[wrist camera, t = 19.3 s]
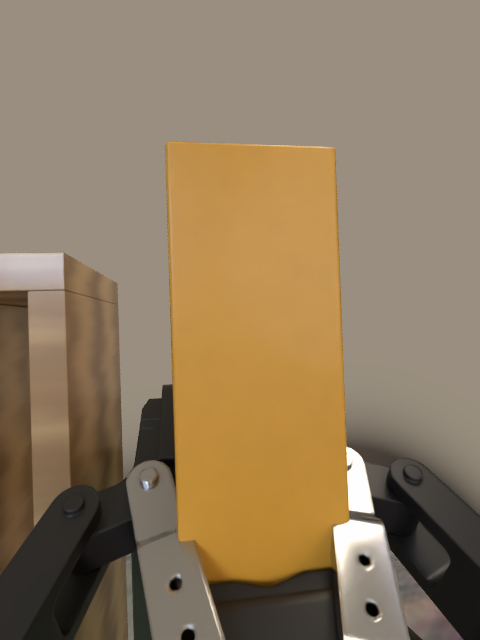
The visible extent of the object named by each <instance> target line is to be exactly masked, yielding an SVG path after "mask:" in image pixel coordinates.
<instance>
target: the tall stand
mask: <svg viewBox="0 0 480 640" xmlns="http://www.w3.org/2000/svg"><path fill="white" fill-rule="evenodd" d="M117 287H118V286H117V283H116V282H114V281H112V280H111V279H109V278H107V277H105V276H104V275H102V274H100V273H98V272H97V271H95V270H93V269H91V268H89V267H88V266H86V265H84V264H83V263H81V262H79V261H77V260H76V259H74V258H72V257H71V256H69V255H67V254H65V253H0V575H1V574H2V572H3V571H4V569H5V568H6V567H7V565H8V564H9V562H10V561H11V559H12V558H13V557H14V555H15V554H16V552H17V551H18V549H19V548H20V547H21V545H22V544H23V542H24V541H25V540H26V538H27V537H28V535H29V534H30V532H31V531H32V530H33V528H34V527H35V525H36V524H37V523H38V521H39V520H40V518H41V517H42V515H43V514H44V513H45V511H46V510H47V508H48V507H49V506H50V504H51V503H52V501H53V500H54V499H55V498H56V497H57V496H58V495H59V494H60V493H61V492H63V491H65V490H66V489H68V488H70V487H73V486H78V485H87V486H91V487H93V488H94V489H95V490H96V491H97V492H98V491H101V490H104V489H106V488H109V487H112V486H114V485H116V484H118V483H120V482H121V481H123V453H122V423H121V422H122V421H121V387H120V354H119V321H118V320H119V319H118V288H117ZM74 640H128V621H127V588H126V556H124V557H121V558H119V559H117V560H115V561H113V562H111V563H110V564H109V566H108V568H107V570H106V573H105V575H104V577H103V579H102V581H101V583H100V585H99V587H98V589H97V591H96V594H95V596H94V598H93V600H92V602H91V604H90V606H89V608H88V610H87V612H86V615H85V617H84V619H83V621H82V623H81V625H80V627H79V629H78V631H77V634H76V636H75V638H74Z"/></svg>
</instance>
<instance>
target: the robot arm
mask: <svg viewBox="0 0 480 640" xmlns="http://www.w3.org/2000/svg"><path fill="white" fill-rule="evenodd" d="M347 469H348V494H349V520H350V521H349V522H348V523H342V524H333V529H332V540H331V550H330V558H331V563H332V569H324V570H316V571H309V572H302V573H300V574H298V575H296V576H294V577H292V578H290V579H287V580H285V581H283V582H281V583H279V584H277V585H275V586H272V587H265V586H259V585H252V584H246V583H240V582H234V581H231V582H224V583H216V584H208V581H207V578H206V575H205V572H204V568H203V565H202V562H201V559H200V555H199V552H198V549H197V546H196V542H195V540H190V541H179V540H178V538H177V508H176V476H175V445H174V413H173V384H172V385H163V389H162V398H159V399H149V400H148V402H147V403H146V404H145V406H144V408H143V409H142V415H141V422H140V431H139V436H138V443H137V450H136V457H135V463H134V467H133V469H132V470H131V471H130V473H129V474H128V477H126V478H125V479H124V480H123V481H121V482H120V483H118V484H116V485H114V486H112V487H109V488H106V489H104V490H101V491H98V492H97V491H96V490H95V489H94V488H93V487H91V486H87V485H78V486H73V487H70V488H68V489H66V490H65V491H63V492H61V493H60V494H59V495H58V496H57V497H56V498H55V499H54V500H53V501H52V503H51V504H50V506H49V507H48V508H47V510H46V511H45V513H44V514H43V515H42V517H41V518H40V520H39V521H38V523H37V524H36V525H35V527H34V528H33V530H32V531H31V532H30V534H29V535H28V537H27V538H26V540H25V541H24V542H23V544H22V545H21V547H20V548H19V549H18V551H17V552H16V554H15V555H14V557H13V558H12V559H11V561H10V562H9V564H8V565H7V567H6V568H5V569H4V571H3V572H2V574H1V575H0V640H74V638H75V636H76V634H77V631H78V629H79V627H80V625H81V623H82V621H83V619H84V617H85V615H86V612H87V610H88V608H89V606H90V604H91V602H92V600H93V598H94V596H95V594H96V591H97V589H98V587H99V585H100V583H101V581H102V579H103V577H104V575H105V573H106V570H107V568H108V566H109V564H110V563H111V562H113V561H115V560H117V559H119V558H121V557H124V556H126V555H128V554H130V553H132V552H134V551H137V553H138V559H139V565H140V571H141V576H142V582H143V588H144V594H145V600H146V606H147V612H148V618H149V624H150V630H151V636H152V640H422V639H421V638H420V637H419V636H418V635H417V634H416V633H414V632H413V631H412V630H411V629H410V628H409V627H408V626H407V623H406V619H405V614H404V610H403V605H402V601H401V596H400V592H399V587H398V583H397V578H396V574H395V569H394V565H393V560H392V556H391V551H392V552H393V553H394V554H395V556H396V557H397V558H398V559H399V561H400V562H401V563H402V564H403V566H404V567H405V568H406V569H407V570H408V572H409V573H410V574H411V575H412V577H413V578H414V579H415V580H416V582H417V583H418V584H419V585H420V586H421V588H422V589H423V590H424V591H425V593H426V594H427V595H428V596H429V598H430V599H431V600H432V601H433V602H434V604H435V605H436V606H437V607H438V609H439V610H440V611H441V612H442V614H443V615H444V616H445V617H446V618H447V620H448V621H449V622H450V623H451V625H452V626H453V627H454V628H455V630H456V631H457V632H458V633H459V634H460V636H461V637H462V638H463V639H464V640H480V515H479V514H477V513H476V512H475V511H474V510H473V509H472V508H471V507H470V506H469V505H468V504H466V503H465V502H464V501H463V500H462V499H461V498H460V497H459V496H458V495H456V494H455V493H454V492H453V491H452V490H451V489H450V488H449V487H448V486H447V485H446V484H444V483H443V482H442V481H441V480H440V479H439V478H438V477H437V476H435V475H434V474H433V473H432V472H431V471H430V470H429V469H428V468H427V467H425V466H424V465H423V464H421V463H420V462H418V461H416V460H413V459H409V458H398V459H395V460H394V461H393V462H392V463H391V465H390V467H388V466H383V465H378V464H373V463H369V462H366V461H364V460H363V459H362V457H361V456H360V455H359V454H358V453H357V452H356V451H354V450H352V449H351V448H349V447H347ZM390 550H391V551H390Z"/></svg>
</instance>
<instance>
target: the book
mask: <svg viewBox="0 0 480 640" xmlns="http://www.w3.org/2000/svg"><path fill="white" fill-rule="evenodd" d="M165 157H166V189H167V218H168V219H167V220H168V253H169V284H170V313H171V314H170V316H171V348H172V379H173V380H172V381H173V413H174V445H175V476H176V508H177V538H178V540H179V541H190V540H195V542H196V546H197V549H198V552H199V555H200V559H201V562H202V565H203V568H204V572H205V575H206V578H207V581H208V584H216V583H224V582H231V581H234V582H240V583H246V584H252V585H259V586H265V587H272V586H275V585H277V584H279V583H281V582H283V581H285V580H287V579H290V578H292V577H294V576H296V575H298V574H300V573H302V572H309V571H316V570H324V569H332V563H331V558H330V550H331V540H332V529H333V524H342V523H348V522H349V521H350V520H349V494H348V469H347V444H346V419H345V418H346V417H345V392H344V366H343V342H342V317H341V316H342V314H341V289H340V263H339V237H338V212H337V186H336V161H335V149H334V148H333V147H309V146H281V145H280V146H279V145H251V144H222V143H193V142H167V143H166V145H165Z"/></svg>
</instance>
